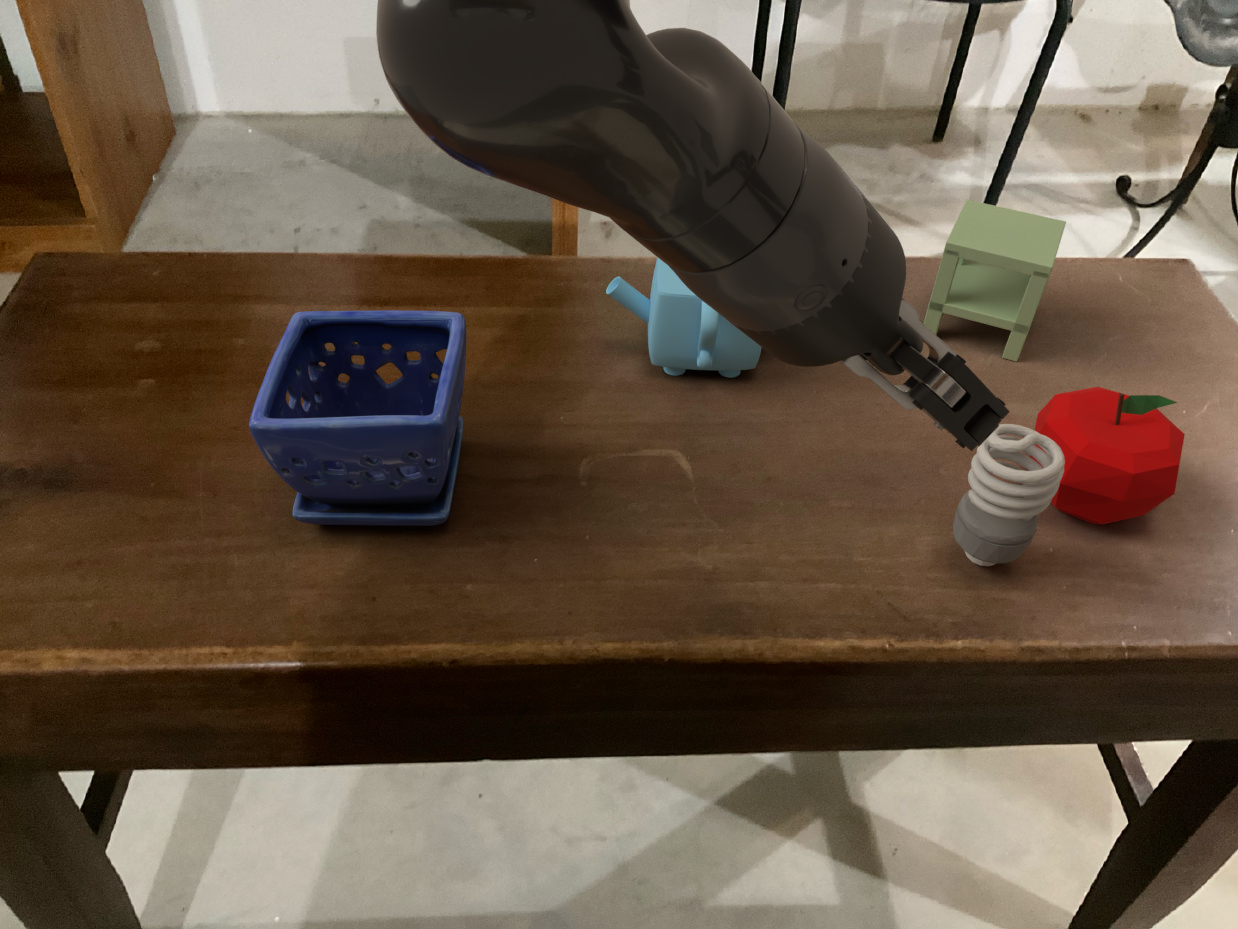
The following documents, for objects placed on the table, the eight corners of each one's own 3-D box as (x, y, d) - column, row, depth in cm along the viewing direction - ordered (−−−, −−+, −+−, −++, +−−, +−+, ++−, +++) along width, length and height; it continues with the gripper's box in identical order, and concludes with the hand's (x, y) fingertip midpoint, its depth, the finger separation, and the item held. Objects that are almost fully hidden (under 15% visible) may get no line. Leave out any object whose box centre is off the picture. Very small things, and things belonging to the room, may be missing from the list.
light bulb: (936, 580, 68) (983, 455, 60) (941, 525, 72) (985, 402, 64) (1019, 599, 67) (1077, 475, 59) (1019, 543, 71) (1073, 419, 63)
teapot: (602, 392, 83) (602, 293, 77) (609, 303, 94) (610, 208, 87) (808, 400, 83) (827, 301, 76) (793, 309, 93) (808, 215, 87)
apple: (1027, 536, 72) (1072, 435, 65) (1001, 443, 79) (1040, 344, 73) (1173, 550, 71) (1235, 449, 64) (1133, 454, 79) (1184, 356, 72)
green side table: (1032, 313, 94) (1066, 221, 87) (1017, 362, 88) (1052, 267, 81) (940, 290, 97) (966, 198, 90) (919, 335, 91) (946, 241, 84)
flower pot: (464, 546, 70) (447, 422, 62) (281, 547, 70) (240, 421, 61) (480, 428, 80) (467, 307, 71) (320, 428, 79) (289, 306, 71)
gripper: (966, 252, 34) (1078, 406, 46) (743, 107, 43) (885, 268, 55) (824, 410, 36) (968, 519, 48) (637, 238, 45) (797, 366, 57)
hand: (923, 384), depth 52 cm, fingers open, 8 cm apart
